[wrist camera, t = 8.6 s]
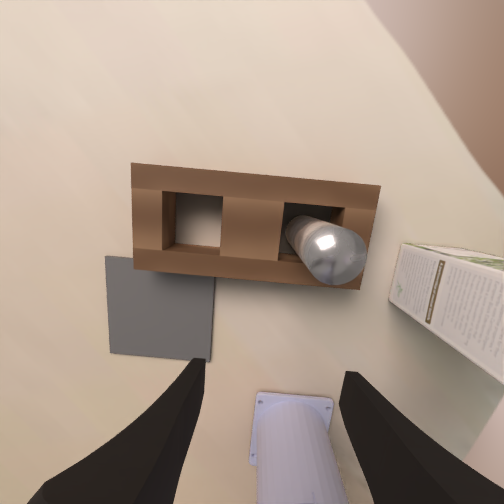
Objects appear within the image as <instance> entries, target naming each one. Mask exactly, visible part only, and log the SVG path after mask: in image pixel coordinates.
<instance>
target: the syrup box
mask: <svg viewBox="0 0 504 504" xmlns="http://www.w3.org/2000/svg"><path fill="white" fill-rule="evenodd" d="M389 301H390V302H392V303H393V304H394V305H396V306H397V307H398V308H400V309H401V310H403V311H404V312H405V313H407V314H408V315H409V316H411V317H412V318H413V319H415V320H416V321H417V322H419V323H420V324H421V325H423V326H424V327H425V328H427V329H428V330H429V331H431V332H432V333H433V334H435V335H436V336H438V337H439V338H440V339H442V340H443V341H444V342H446V343H447V344H449V345H450V346H451V347H453V348H454V349H455V350H457V351H458V352H459V353H461V354H462V355H464V356H465V357H466V358H468V359H469V360H470V361H472V362H473V363H474V364H476V365H477V366H479V367H480V368H481V369H483V370H484V371H485V372H487V373H488V374H489V375H491V376H492V377H493V378H495V379H496V380H497V381H499V382H500V383H501V384H503V385H504V257H500V256H495V255H491V254H486V253H481V252H477V251H472V250H468V249H463V248H455V247H442V246H430V245H419V244H408V243H403V244H401V247H400V251H399V255H398V259H397V263H396V267H395V271H394V276H393V281H392V285H391V290H390V294H389Z"/></svg>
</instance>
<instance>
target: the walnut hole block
mask: <svg viewBox="0 0 504 504" xmlns="http://www.w3.org/2000/svg"><path fill="white" fill-rule="evenodd" d="M131 189H132V228H133V267H134V269H135V270H146V271H157V272H168V273H179V274H190V275H201V276H212V277H223V278H234V279H245V280H256V281H267V282H278V283H289V284H300V285H311V286H322V287H333V288H344V289H354V290H360V286H361V281H362V276H363V271H364V268H363V270H362V271H361V272H360V274H359V275H358V276H357V277H356V278H354V279H353V280H351V281H350V282H347V283H345V284H341V285H328V284H325V283H322V282H320V281H319V280H317V279H316V278H315V277H314V276H313V275H312V273H311V272H310V271H309V269H308V268H307V267H306V265H305V264H304V263H303V261H302V260H301V258H300V257H299V256H298V254H287V253H278V252H279V244H280V235H281V227H282V218H283V210H284V202H290V203H301V204H312V205H323V206H332V212H331V218H330V223H331V224H334V225H337V226H340V227H343V228H346V229H349V230H352V231H354V232H355V233H357V234H358V235H359V236H360V237H361V238H362V240H363V241H364V243H365V246H366V250H367V252H368V247H369V242H370V237H371V232H372V228H373V223H374V218H375V213H376V208H377V203H378V198H379V194H380V189H381V186H379V185H368V184H357V183H346V182H336V181H325V180H314V179H303V178H292V177H281V176H270V175H259V174H249V173H238V172H227V171H216V170H205V169H194V168H183V167H173V166H162V165H151V164H140V163H131ZM176 192H181V193H192V194H203V195H214V196H223V209H222V226H221V243H220V247H210V246H200V245H189V244H178V243H175V218H176Z"/></svg>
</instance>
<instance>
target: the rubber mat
mask: <svg viewBox="0 0 504 504" xmlns="http://www.w3.org/2000/svg"><path fill="white" fill-rule="evenodd" d="M105 268H106V287H107V305H108V324H109V343H110V353H115V354H126V355H137V356H148V357H159V358H170V359H181V360H192V359H193V358H203V359H206V362H210V354H211V336H212V319H213V301H214V283H215V277H212V276H201V275H190V274H179V273H168V272H157V271H146V270H135V269H134V267H133V258H126V257H115V256H105Z"/></svg>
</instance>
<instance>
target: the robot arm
mask: <svg viewBox="0 0 504 504" xmlns="http://www.w3.org/2000/svg"><path fill="white" fill-rule="evenodd" d="M205 364H206V359H203V358H193V359H192V360H191V361H190V362H189V364H188V365H187V366H186V368H185V369H184V370H183V371H182V373H181V374H180V375H179V376H178V377H177V379H176V380H175V381H174V382H173V383H172V384H171V385H170V386H169V388H168V389H167V390H166V391H165V392H164V393H163V394H162V395H161V396H160V397H159V398H158V399H157V400H156V401H155V402H154V403H153V404H152V405H151V406H150V407H149V408H148V409H147V410H146V411H145V412H144V413H143V414H141V415H140V416H139V417H138V418H137V419H136V420H135V421H133V422H132V423H131V424H130V425H129V426H127V427H126V428H125V429H124V430H122V431H121V432H120V433H119V434H117V435H116V436H115V437H114V438H112V439H111V440H110V441H108V442H107V443H105V444H104V445H103V446H101V447H100V448H98V449H97V450H95V451H94V452H93V453H91V454H90V455H88V456H87V457H85V458H84V459H82V460H81V461H79V462H78V463H76V464H74V465H73V466H71V467H70V468H68V469H66V470H65V471H63V472H61V473H60V474H58V475H56V476H55V477H53V478H51V479H50V480H48V481H46V482H45V483H44V484H43V485H42V486H41V488H40V489H39V490H38V491H37V492H36V493H35V494H34V496H33V497H32V498H31V499H30V500H29V502H28V503H27V504H173V502H174V497H175V493H176V489H177V485H178V481H179V477H180V474H181V470H182V467H183V463H184V460H185V457H186V454H187V451H188V448H189V445H190V442H191V439H192V436H193V432H194V429H195V426H196V423H197V420H198V417H199V413H200V409H201V404H202V400H203V395H204V384H205ZM260 400H261V401H260ZM333 406H334V403H333V400H332V399H331V398H325V397H314V396H303V395H292V394H281V393H270V392H258V393H257V394H256V400H255V409H254V418H253V427H252V436H251V445H250V454H249V463H250V465H253V466H257V504H349V502H348V499H347V495H346V492H345V489H344V485H343V482H342V479H341V476H340V472H339V469H338V466H337V462H336V459H335V456H334V452H333V449H332V446H331V443H330V439H329V436H328V430H329V425H330V421H331V416H332V411H333ZM339 407H340V410H341V414H342V418H343V421H344V425H345V428H346V430H347V433H348V436H349V438H350V441H351V443H352V446H353V448H354V451H355V453H356V456H357V458H358V461H359V463H360V466H361V468H362V471H363V473H364V476H365V478H366V481H367V483H368V486H369V489H370V492H371V495H372V497H373V501H374V504H504V489H503V488H501V487H499V486H498V485H496V484H495V483H493V482H492V481H490V480H489V479H487V478H486V477H484V476H483V475H481V474H480V473H478V472H477V471H475V470H474V469H472V468H471V467H469V466H468V465H467V464H465V463H464V462H462V461H461V460H459V459H458V458H457V457H455V456H454V455H453V454H451V453H450V452H448V451H447V450H446V449H444V448H443V447H442V446H441V445H439V444H438V443H437V442H435V441H434V440H433V439H432V438H430V437H429V436H428V435H426V434H425V433H424V432H423V431H422V430H420V429H419V428H418V427H417V426H416V425H414V424H413V423H412V422H411V421H410V420H409V419H408V418H406V417H405V416H404V415H403V414H402V413H401V412H400V411H399V410H397V409H396V408H395V407H394V406H393V405H392V404H391V403H390V402H389V401H388V400H387V399H386V398H385V397H384V396H382V395H381V394H380V393H379V392H378V391H377V390H376V389H375V388H374V387H373V386H372V385H371V384H370V383H369V382H368V381H367V380H366V379H365V378H364V377H363V376H362V375H361V374H359V373H358V372H352V371H346V373H345V377H344V382H343V386H342V391H341V396H340V400H339Z"/></svg>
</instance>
